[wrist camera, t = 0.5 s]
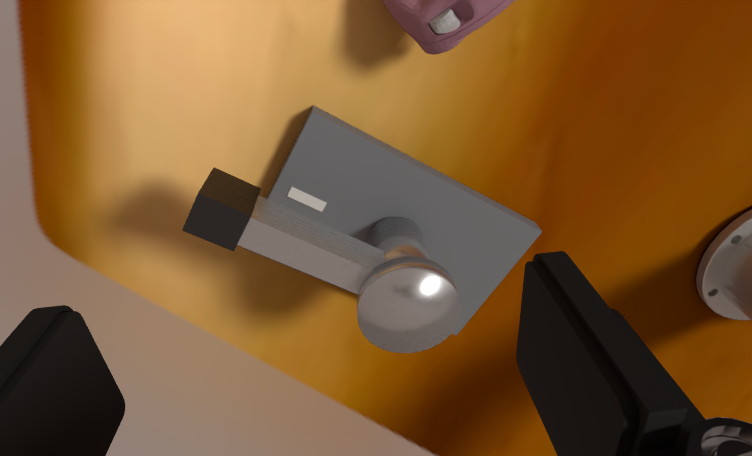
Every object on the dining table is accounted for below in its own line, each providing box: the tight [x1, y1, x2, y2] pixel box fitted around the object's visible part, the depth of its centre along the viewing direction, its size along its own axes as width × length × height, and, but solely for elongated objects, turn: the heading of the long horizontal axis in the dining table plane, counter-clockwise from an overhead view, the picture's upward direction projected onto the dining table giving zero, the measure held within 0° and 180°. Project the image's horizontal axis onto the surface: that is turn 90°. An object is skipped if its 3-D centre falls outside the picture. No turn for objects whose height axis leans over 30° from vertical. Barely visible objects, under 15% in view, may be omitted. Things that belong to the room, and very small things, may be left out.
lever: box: [182, 168, 461, 353], centre depth 31 cm, size 17×6×9 cm, turn 60°
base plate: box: [243, 105, 542, 335], centre depth 37 cm, size 20×12×2 cm, turn 60°
